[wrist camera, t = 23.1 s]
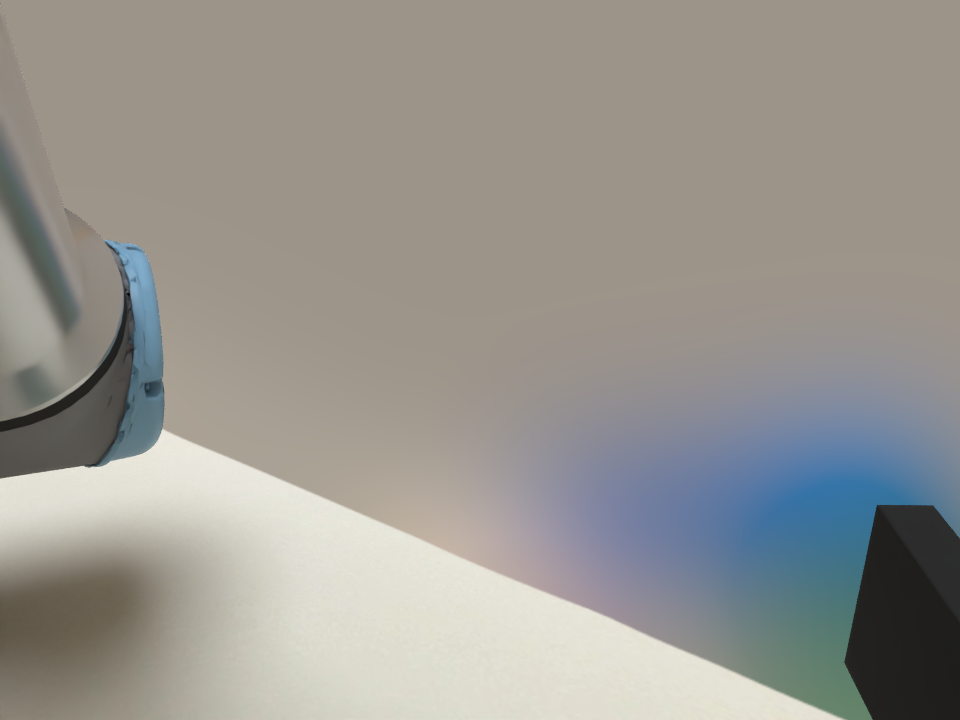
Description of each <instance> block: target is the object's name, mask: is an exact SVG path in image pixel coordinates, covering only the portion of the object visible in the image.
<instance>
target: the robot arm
mask: <svg viewBox="0 0 960 720" xmlns="http://www.w3.org/2000/svg"><path fill="white" fill-rule="evenodd" d="M162 377H163V350H162V336H161V326H160V317H159V309H158V301H157V295H156V289H155V283H154V278H153V274H152V269H151V266H150V263H149V261H148V258H147V256H146V255H145V253H144V251H143V250H142V249H141V248H140V247H139V246H136V245H134V244H129V243H117V242H114V241H111V240H103V239H102V238H101V236H100V235H99V234H98V233H97V232H96V231H95V230H94V229H93V228H92V227H91V226H90V225H88V224H87V223H86V222H85V221H83V220H82V219H81V218H80V217H78V216H77V215H75V214H74V213H72V212H70V211H68V210H67V209H65V208H64V206H63V203H62V200H61V197H60V193H59V190H58V187H57V184H56V181H55V178H54V174H53V171H52V168H51V164H50V161H49V158H48V155H47V152H46V148H45V145H44V142H43V139H42V136H41V132H40V129H39V126H38V123H37V120H36V116H35V113H34V110H33V107H32V103H31V100H30V97H29V94H28V90H27V87H26V84H25V81H24V78H23V74H22V71H21V68H20V65H19V62H18V58H17V55H16V52H15V49H14V45H13V42H12V39H11V36H10V33H9V30H8V26H7V23H6V20H5V16H4V13H3V10H2V7H1V3H0V478H6V477H13V476H19V475H26V474H32V473H39V472H45V471H52V470H58V469H65V468H71V467H78V466H85V467H89V468H90V467H99V466H103V465H106V464H107V463H109V462H110V461H113V460H117V459H122V458H127V457H131V456H136V455H139V454H142V453H144V452H146V451H148V450H149V449H150V448H151V447H153V446H154V444H155V443H156V442H157V440H158V438H159V436H160V434H161V431H162V426H163V418H164V387H163V382H162ZM845 665H846V667H847V669H848V671H849V673H850V675H851V677H852V679H853V681H854V683H855V685H856V687H857V689H858V691H859V693H860V695H861V697H862V699H863V701H864V703H865V705H866V707H867V709H868V711H869V713H870V715H871V717H872V719H873V720H960V539H959V537H958V536H957V535H956V533H955V532H954V531H953V530H952V529H951V527H950V526H949V525H948V524H947V522H946V521H945V520H944V519H943V517H942V516H941V515H940V514H939V512H938V511H937V510H936V509H935V508H934V506H922V505H920V506H919V505H918V506H917V505H877V507H876V512H875V517H874V522H873V527H872V532H871V536H870V541H869V546H868V551H867V556H866V561H865V566H864V570H863V575H862V580H861V585H860V590H859V595H858V599H857V604H856V609H855V614H854V619H853V623H852V628H851V633H850V638H849V643H848V648H847V652H846V657H845Z"/></svg>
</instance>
